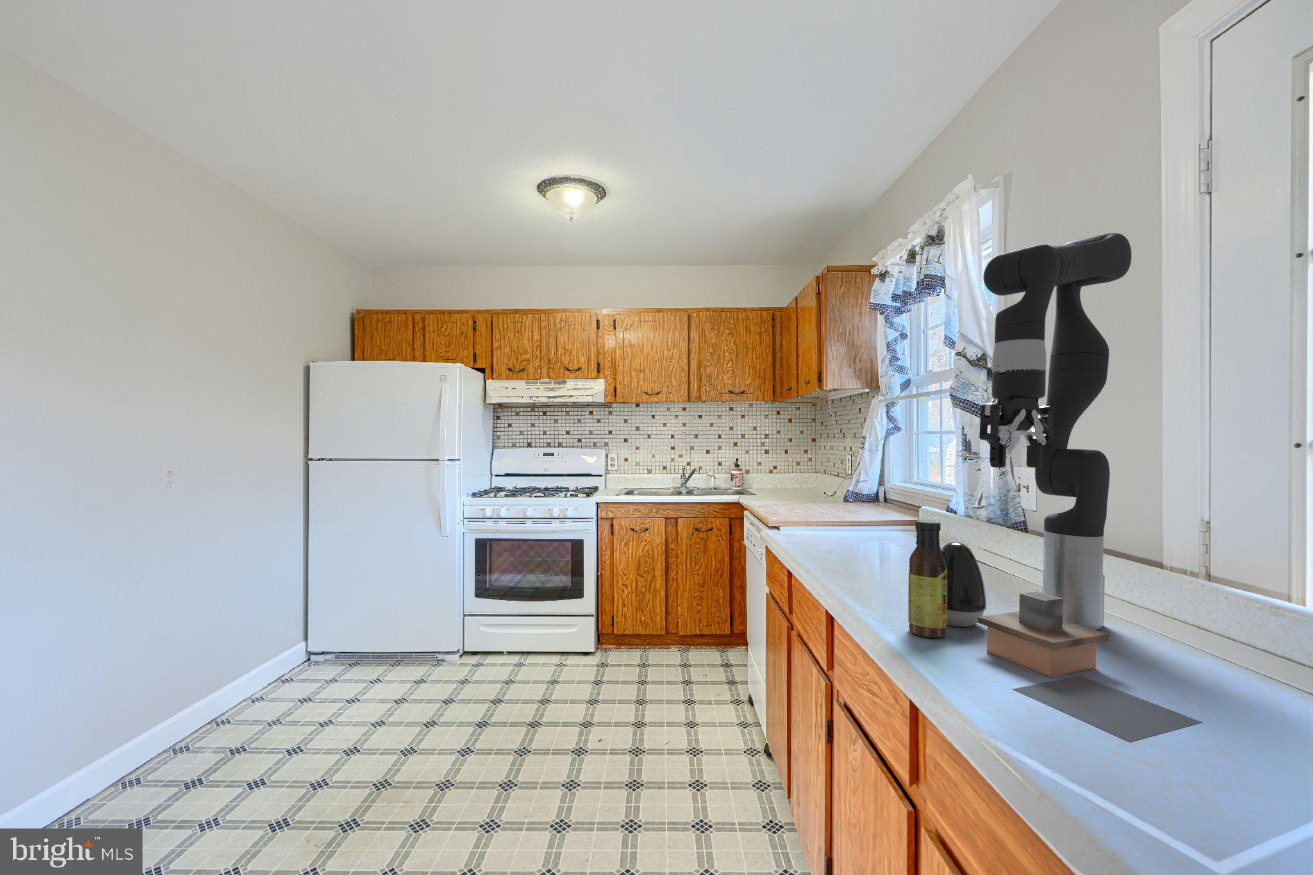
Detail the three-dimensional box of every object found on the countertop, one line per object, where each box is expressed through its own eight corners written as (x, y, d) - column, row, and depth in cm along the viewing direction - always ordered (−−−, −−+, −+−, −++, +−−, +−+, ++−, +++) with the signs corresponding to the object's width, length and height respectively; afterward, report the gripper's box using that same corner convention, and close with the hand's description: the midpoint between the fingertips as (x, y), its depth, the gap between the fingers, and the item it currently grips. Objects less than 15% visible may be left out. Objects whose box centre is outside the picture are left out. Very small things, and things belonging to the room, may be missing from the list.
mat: (1080, 679, 82) (1080, 675, 82) (1202, 726, 69) (1202, 722, 69) (1012, 693, 77) (1012, 688, 77) (1129, 747, 64) (1129, 741, 64)
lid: (1029, 615, 95) (1030, 583, 95) (1108, 640, 84) (1108, 603, 84) (977, 622, 91) (978, 588, 91) (1053, 649, 79) (1054, 610, 79)
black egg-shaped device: (916, 612, 112) (918, 536, 112) (972, 615, 111) (974, 538, 111) (934, 629, 102) (936, 545, 102) (996, 633, 101) (998, 548, 101)
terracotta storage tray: (1030, 648, 94) (1030, 618, 94) (1095, 672, 84) (1096, 639, 84) (986, 655, 90) (987, 624, 90) (1049, 681, 81) (1050, 646, 81)
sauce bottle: (951, 641, 96) (954, 525, 96) (912, 637, 97) (914, 523, 97) (940, 628, 103) (942, 519, 103) (903, 625, 104) (906, 518, 104)
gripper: (1026, 374, 99) (1024, 466, 99) (967, 369, 94) (964, 466, 94) (1070, 370, 92) (1068, 469, 92) (1009, 364, 87) (1006, 468, 87)
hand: (1016, 467), depth 93 cm, fingers open, 8 cm apart
